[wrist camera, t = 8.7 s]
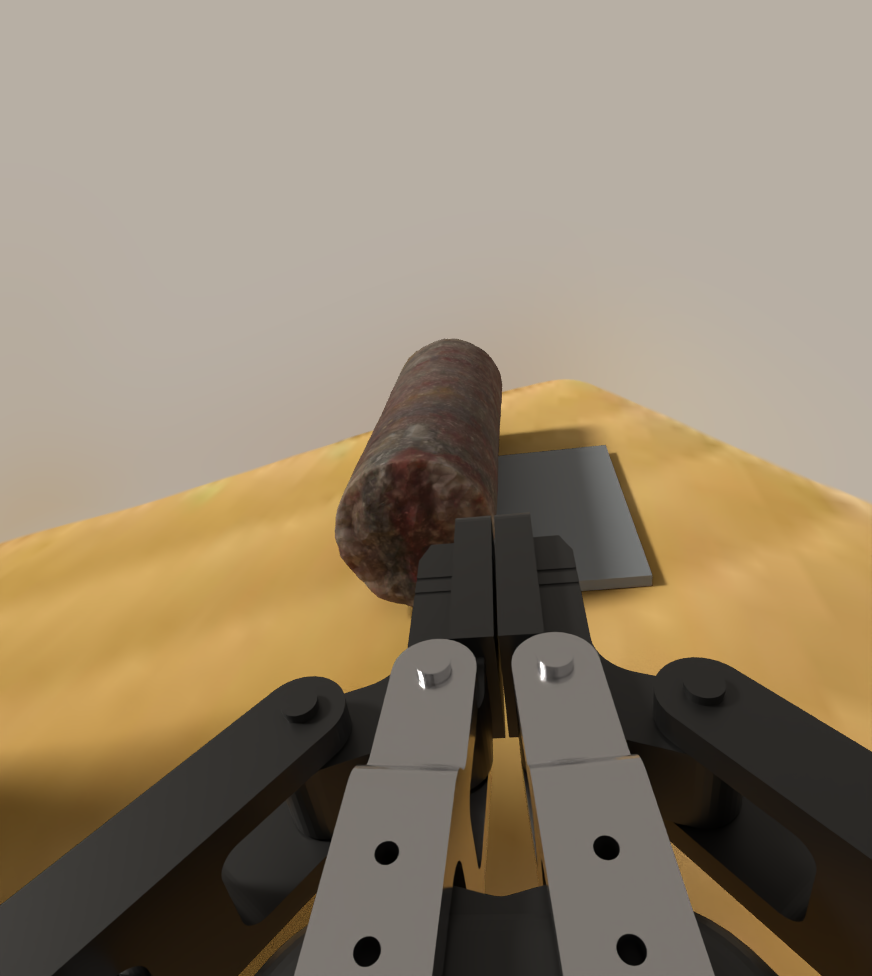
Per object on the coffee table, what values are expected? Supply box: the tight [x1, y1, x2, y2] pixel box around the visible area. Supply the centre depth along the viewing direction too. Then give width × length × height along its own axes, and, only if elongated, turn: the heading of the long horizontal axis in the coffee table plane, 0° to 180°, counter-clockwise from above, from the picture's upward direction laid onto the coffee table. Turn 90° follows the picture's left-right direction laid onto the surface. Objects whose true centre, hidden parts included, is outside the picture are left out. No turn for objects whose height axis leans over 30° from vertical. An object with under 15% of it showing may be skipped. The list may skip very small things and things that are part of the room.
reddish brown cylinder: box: [335, 339, 502, 607], centre depth 39 cm, size 8×7×20 cm
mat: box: [494, 445, 652, 591], centre depth 39 cm, size 11×14×1 cm
